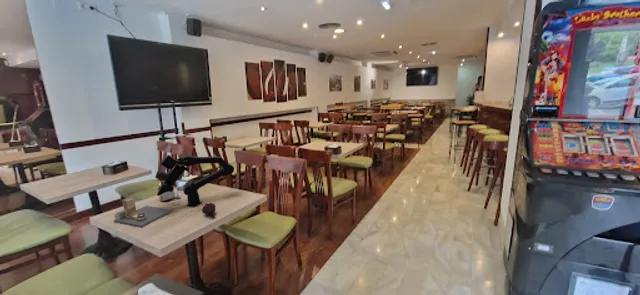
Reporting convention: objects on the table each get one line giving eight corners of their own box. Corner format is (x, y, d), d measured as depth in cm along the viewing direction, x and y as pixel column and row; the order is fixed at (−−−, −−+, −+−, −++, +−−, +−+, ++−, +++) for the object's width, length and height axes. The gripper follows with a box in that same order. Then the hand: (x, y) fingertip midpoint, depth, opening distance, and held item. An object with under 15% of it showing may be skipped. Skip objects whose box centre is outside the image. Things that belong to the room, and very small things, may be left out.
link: (147, 218, 145) (144, 200, 143) (140, 221, 141) (136, 203, 139) (129, 213, 151) (125, 196, 149) (121, 216, 148) (118, 199, 145)
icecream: (197, 202, 152) (203, 213, 140) (209, 195, 156) (216, 206, 144) (201, 211, 155) (208, 223, 143) (214, 205, 158) (221, 216, 147)
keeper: (144, 220, 143) (143, 214, 142) (110, 225, 138) (109, 219, 138) (152, 209, 156) (150, 204, 155) (121, 214, 152) (120, 208, 151)
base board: (172, 211, 155) (172, 209, 155) (141, 227, 138) (141, 225, 137) (146, 207, 162) (146, 205, 162) (114, 222, 145) (113, 220, 145)
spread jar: (157, 200, 173) (154, 183, 171) (175, 194, 182) (172, 178, 180) (166, 204, 167) (163, 186, 164) (184, 197, 176) (181, 181, 173)
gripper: (163, 162, 160) (145, 183, 157) (163, 169, 144) (143, 193, 141) (179, 172, 165) (162, 192, 162) (181, 180, 150) (162, 203, 147)
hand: (157, 195), depth 153 cm, fingers closed
